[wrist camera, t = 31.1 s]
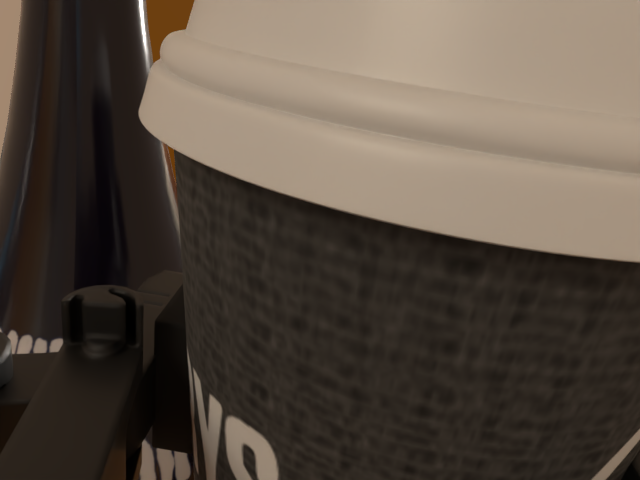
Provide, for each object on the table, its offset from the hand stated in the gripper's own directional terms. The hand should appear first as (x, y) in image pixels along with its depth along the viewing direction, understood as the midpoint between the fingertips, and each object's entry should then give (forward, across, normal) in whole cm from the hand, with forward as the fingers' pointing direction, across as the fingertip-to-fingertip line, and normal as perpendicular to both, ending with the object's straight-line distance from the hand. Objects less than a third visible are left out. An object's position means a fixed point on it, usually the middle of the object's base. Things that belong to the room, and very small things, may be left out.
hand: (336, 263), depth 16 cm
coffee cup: (-5, +2, -8) cm, 10 cm away
